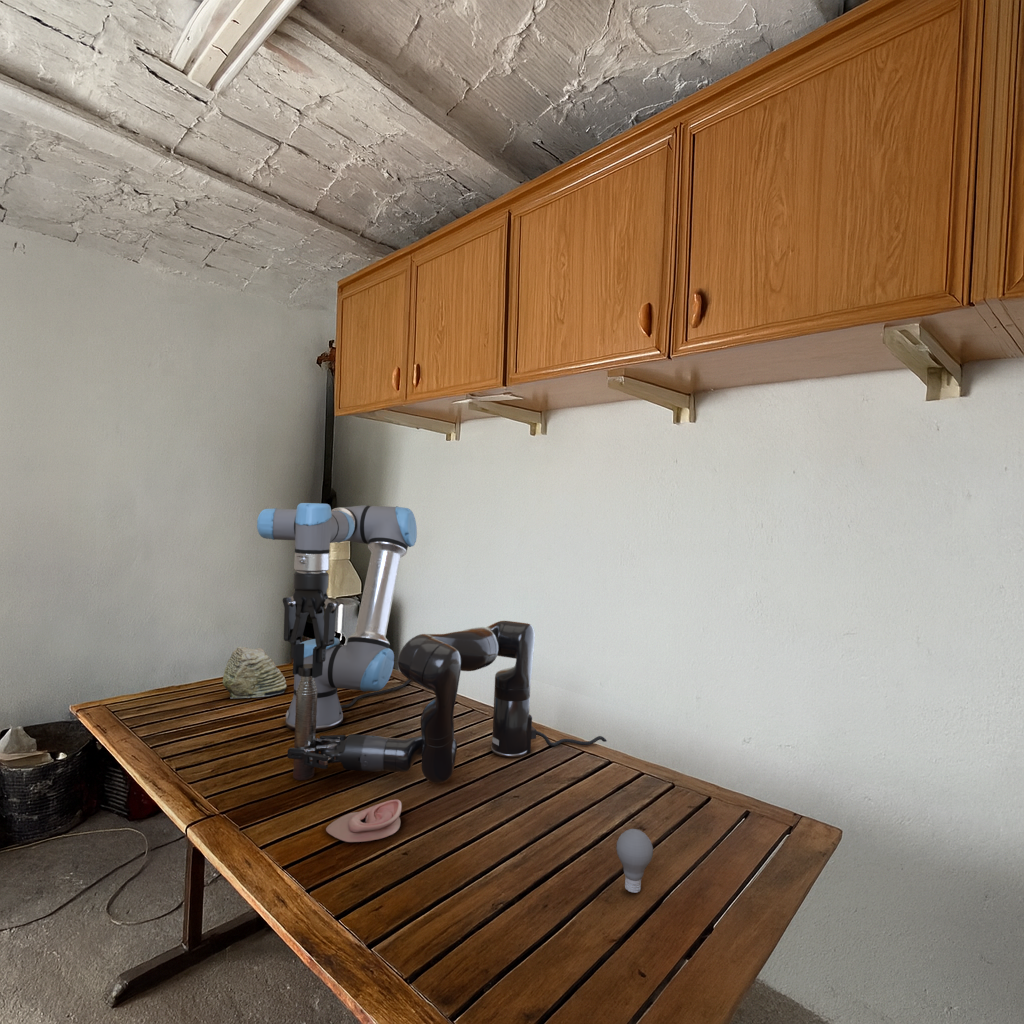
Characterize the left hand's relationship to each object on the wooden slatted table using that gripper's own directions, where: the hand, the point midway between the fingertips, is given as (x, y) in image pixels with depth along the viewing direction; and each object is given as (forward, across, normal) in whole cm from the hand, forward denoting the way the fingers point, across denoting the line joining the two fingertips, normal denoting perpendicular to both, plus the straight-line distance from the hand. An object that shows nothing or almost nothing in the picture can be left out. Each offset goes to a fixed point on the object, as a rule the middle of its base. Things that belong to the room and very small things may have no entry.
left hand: (307, 674), depth 143 cm
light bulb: (+23, +76, -13) cm, 81 cm away
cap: (-2, 0, 0) cm, 2 cm away
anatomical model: (+23, +25, -14) cm, 37 cm away
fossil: (+23, -50, +40) cm, 68 cm away
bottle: (+23, 0, 0) cm, 23 cm away
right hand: (+17, -2, -1) cm, 17 cm away
